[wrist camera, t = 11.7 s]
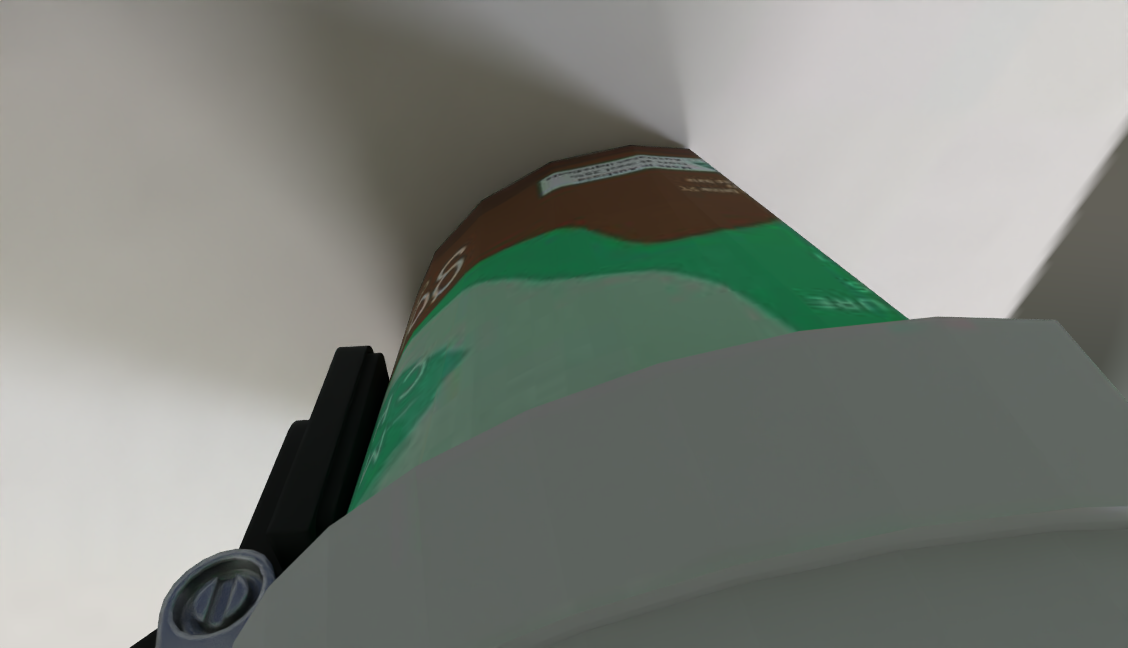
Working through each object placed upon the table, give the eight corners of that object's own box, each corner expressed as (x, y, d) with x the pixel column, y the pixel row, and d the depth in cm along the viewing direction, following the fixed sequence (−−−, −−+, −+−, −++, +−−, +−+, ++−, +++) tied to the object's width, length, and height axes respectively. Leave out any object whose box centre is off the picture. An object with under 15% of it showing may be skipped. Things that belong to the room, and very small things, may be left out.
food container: (353, -1, 10) (-387, 553, 1) (714, 66, 11) (1413, 583, 3) (357, 505, 16) (226, 1106, 8) (578, 513, 18) (656, 1047, 9)
